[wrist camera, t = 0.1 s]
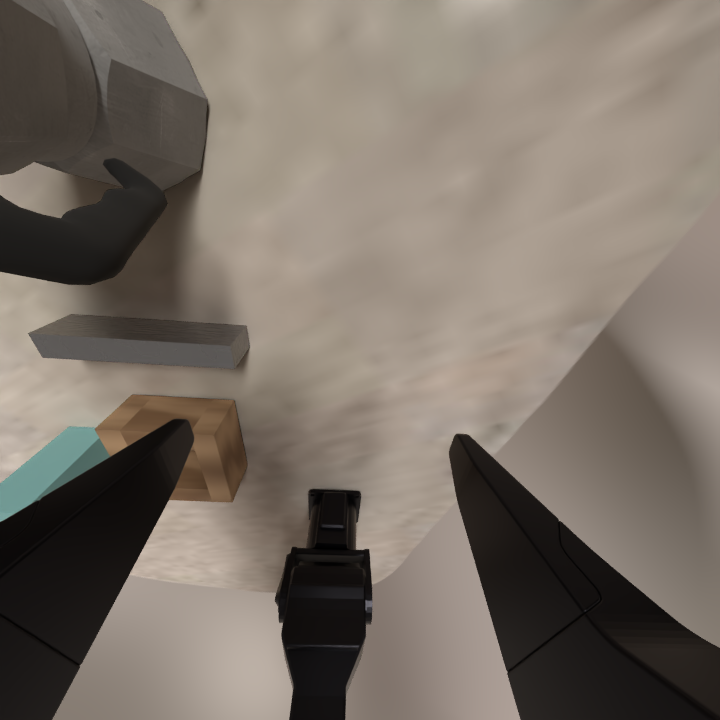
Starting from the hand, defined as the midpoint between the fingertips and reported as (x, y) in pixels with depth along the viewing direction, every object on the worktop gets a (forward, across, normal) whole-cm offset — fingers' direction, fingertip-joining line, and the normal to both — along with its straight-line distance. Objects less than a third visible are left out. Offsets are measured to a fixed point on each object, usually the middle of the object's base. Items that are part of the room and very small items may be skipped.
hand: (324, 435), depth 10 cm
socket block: (+14, +15, +16) cm, 26 cm away
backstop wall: (+15, +15, +4) cm, 21 cm away
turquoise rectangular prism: (+15, +26, +18) cm, 35 cm away
